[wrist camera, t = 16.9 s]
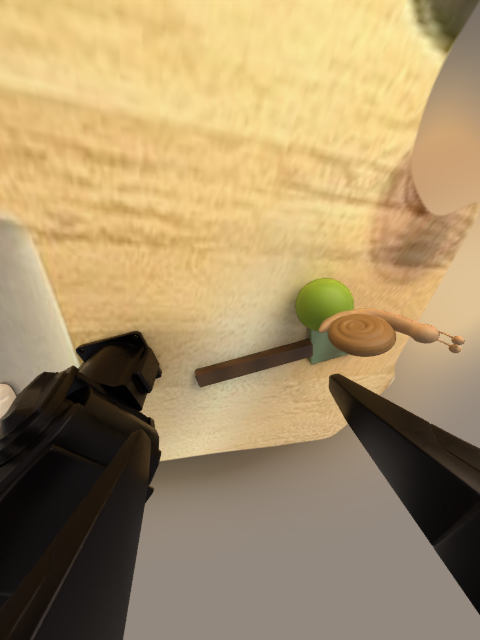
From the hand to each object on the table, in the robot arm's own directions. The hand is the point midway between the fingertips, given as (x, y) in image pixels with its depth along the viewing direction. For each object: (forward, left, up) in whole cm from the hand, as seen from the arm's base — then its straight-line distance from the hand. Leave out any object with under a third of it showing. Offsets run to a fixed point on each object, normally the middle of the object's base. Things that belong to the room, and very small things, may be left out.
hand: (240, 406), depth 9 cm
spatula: (+6, -9, -13) cm, 17 cm away
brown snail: (+11, -2, -13) cm, 17 cm away
